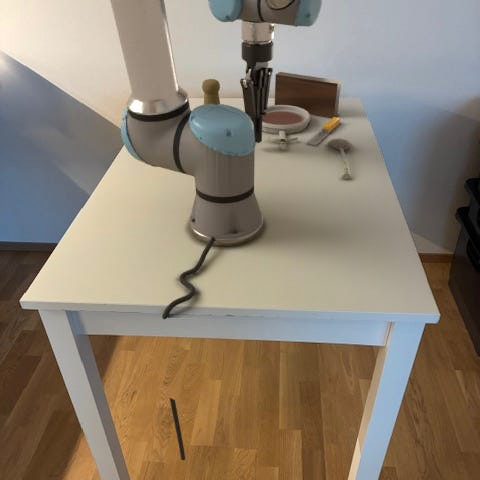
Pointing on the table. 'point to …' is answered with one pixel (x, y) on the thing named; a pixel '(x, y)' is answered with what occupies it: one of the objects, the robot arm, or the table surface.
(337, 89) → the wooden block
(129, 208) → the table surface
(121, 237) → the table surface
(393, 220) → the table surface
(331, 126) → the knife
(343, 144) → the soupspoon
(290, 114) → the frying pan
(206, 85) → the cork
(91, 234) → the table surface
